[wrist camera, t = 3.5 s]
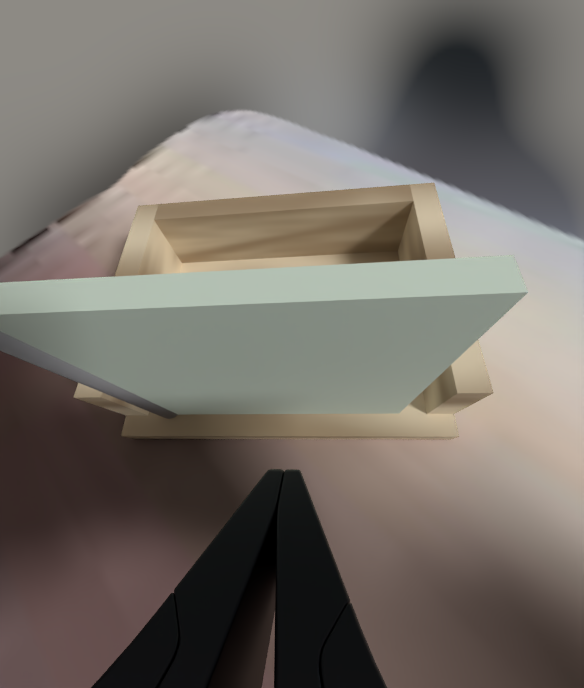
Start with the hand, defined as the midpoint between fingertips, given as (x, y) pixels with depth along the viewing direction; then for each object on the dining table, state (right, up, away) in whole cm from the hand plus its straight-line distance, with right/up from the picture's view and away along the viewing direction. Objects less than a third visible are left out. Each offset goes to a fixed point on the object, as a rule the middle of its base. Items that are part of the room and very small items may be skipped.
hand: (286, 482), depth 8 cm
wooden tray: (0, +4, +10) cm, 10 cm away
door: (-1, +1, +6) cm, 6 cm away
